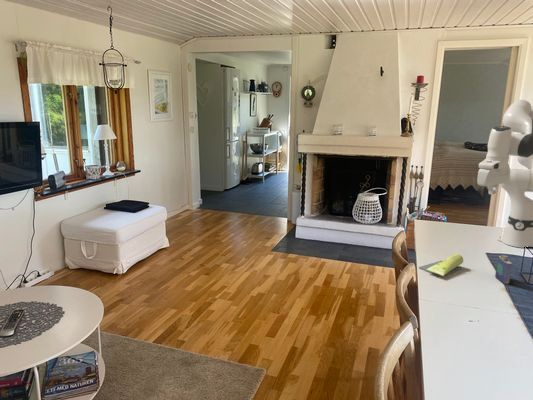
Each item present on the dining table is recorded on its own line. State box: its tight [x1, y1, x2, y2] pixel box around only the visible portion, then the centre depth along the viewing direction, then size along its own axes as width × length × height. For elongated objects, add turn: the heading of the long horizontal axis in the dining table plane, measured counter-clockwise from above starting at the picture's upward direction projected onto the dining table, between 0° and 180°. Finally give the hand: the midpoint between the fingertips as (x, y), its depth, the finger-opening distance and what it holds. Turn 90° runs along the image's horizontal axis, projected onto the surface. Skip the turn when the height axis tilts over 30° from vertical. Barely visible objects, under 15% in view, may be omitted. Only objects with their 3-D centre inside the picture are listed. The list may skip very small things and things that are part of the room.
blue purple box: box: [494, 254, 513, 285], centre depth 164 cm, size 9×3×11 cm, turn 172°
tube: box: [426, 253, 464, 277], centre depth 173 cm, size 6×5×20 cm
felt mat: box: [418, 260, 463, 277], centre depth 176 cm, size 16×10×1 cm, turn 122°
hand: (491, 194), depth 181 cm, fingers closed
